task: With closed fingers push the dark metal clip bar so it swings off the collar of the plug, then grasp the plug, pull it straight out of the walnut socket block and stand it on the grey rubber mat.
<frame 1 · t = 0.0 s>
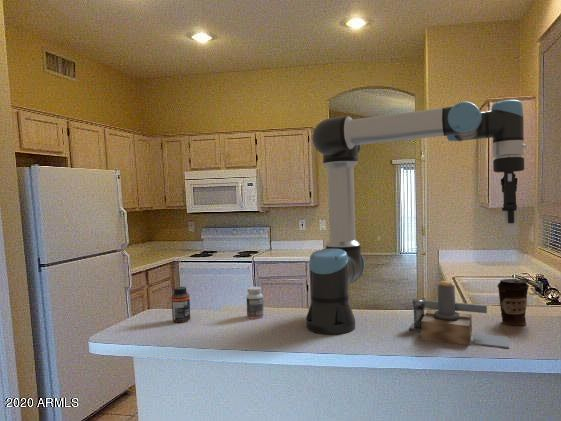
hand: (510, 233, 112), 28 cm above the counter, fingers open, 13 cm apart
pill bottle: (255, 317, 138), on the counter
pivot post: (419, 328, 119), on the counter
coffee cup: (514, 323, 122), on the counter
socket: (447, 335, 113), on the counter
clip: (448, 305, 115), point 8 cm above the counter, hinge at 0.0°
mat: (491, 341, 107), on the counter
supplement bottle: (181, 321, 136), on the counter
plug: (446, 308, 113), in the socket
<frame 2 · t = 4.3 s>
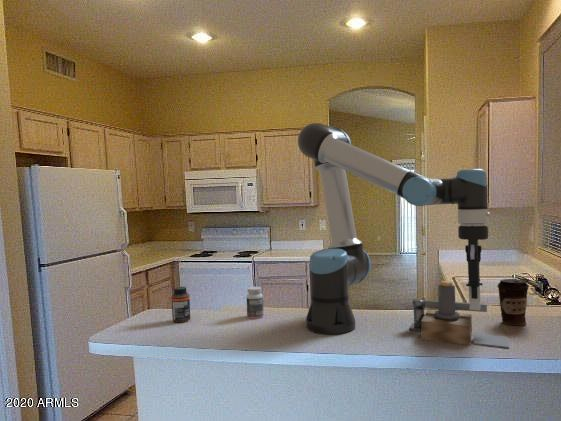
hand: (474, 309, 112), 7 cm above the counter, fingers closed
clip: (448, 305, 116), point 7 cm above the counter, hinge at 4.0°, touching gripper
everything else where it was.
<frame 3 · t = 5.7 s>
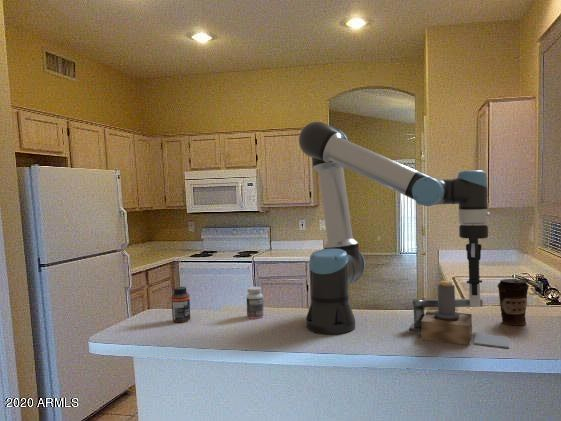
hand: (474, 305, 116), 7 cm above the counter, fingers closed
clip: (446, 303, 119), point 8 cm above the counter, hinge at 23.0°, touching gripper
everything else where it was.
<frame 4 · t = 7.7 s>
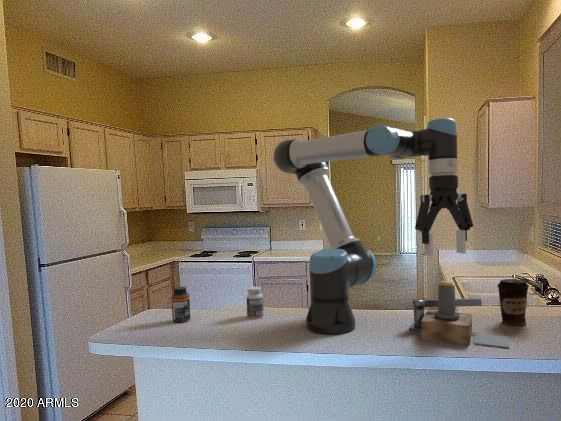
hand: (445, 254, 112), 23 cm above the counter, fingers open, 10 cm apart
clip: (446, 302, 119), point 8 cm above the counter, hinge at 25.4°
everything else where it was.
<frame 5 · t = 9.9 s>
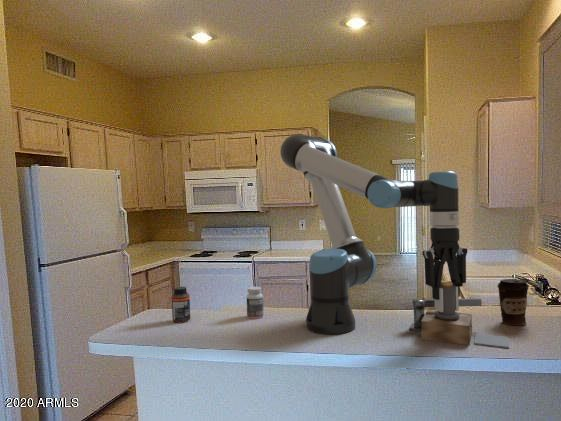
hand: (446, 309, 113), 7 cm above the counter, fingers closed on plug, 4 cm apart
plug: (446, 308, 113), in the socket, touching gripper
everything else where it was.
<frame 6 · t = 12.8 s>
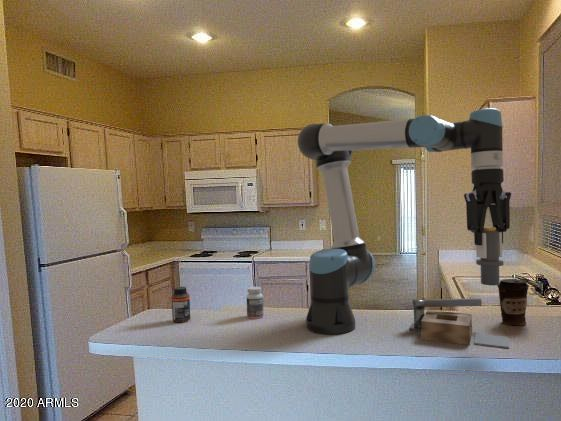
hand: (489, 256, 106), 23 cm above the counter, fingers closed on plug, 4 cm apart
plug: (489, 255, 106), point 23 cm above the counter, touching gripper
everything else where it was.
when the fingers open (9 cm above the counter, at t = 15.6 s): plug stays where it is, resting on mat.
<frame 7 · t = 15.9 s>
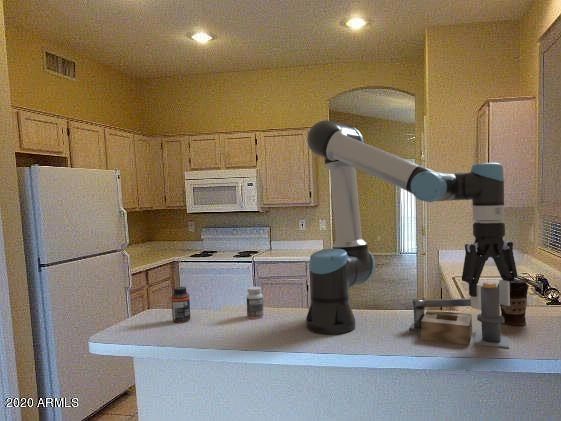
hand: (490, 306, 107), 9 cm above the counter, fingers open, 9 cm apart
plug: (490, 311, 107), on the mat
everything else where it was.
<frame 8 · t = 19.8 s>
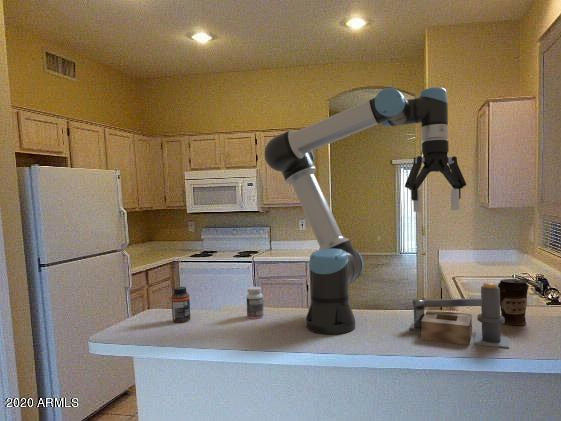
hand: (436, 211, 122), 35 cm above the counter, fingers open, 13 cm apart
nothing on the counter moved.
at the end: clip at +25° (first picture: +0°); plug inside the target area (0.0 cm from its centre), resting on mat; plug tilted 0° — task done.
